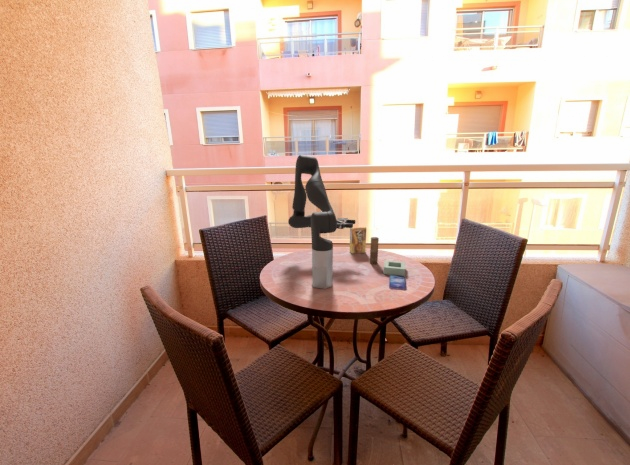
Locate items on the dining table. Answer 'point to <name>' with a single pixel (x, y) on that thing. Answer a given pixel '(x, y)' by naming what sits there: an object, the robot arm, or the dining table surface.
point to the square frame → (394, 268)
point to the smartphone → (397, 282)
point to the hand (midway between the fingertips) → (354, 223)
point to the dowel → (374, 250)
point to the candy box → (357, 239)
